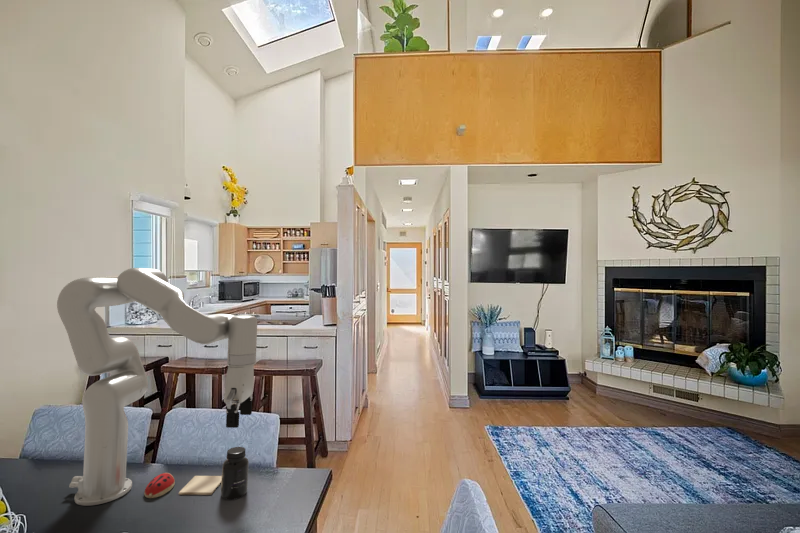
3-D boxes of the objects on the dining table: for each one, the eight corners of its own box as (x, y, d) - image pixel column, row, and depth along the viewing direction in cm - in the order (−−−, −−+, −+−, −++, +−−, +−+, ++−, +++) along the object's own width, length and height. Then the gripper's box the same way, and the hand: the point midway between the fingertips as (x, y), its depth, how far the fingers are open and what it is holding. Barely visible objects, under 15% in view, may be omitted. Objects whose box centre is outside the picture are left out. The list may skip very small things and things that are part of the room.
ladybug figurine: (179, 481, 113) (180, 468, 114) (164, 500, 104) (164, 486, 104) (155, 482, 112) (155, 470, 113) (137, 501, 103) (138, 488, 103)
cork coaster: (178, 494, 106) (178, 492, 106) (194, 477, 115) (195, 475, 115) (211, 494, 106) (211, 492, 106) (225, 477, 115) (225, 475, 115)
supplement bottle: (237, 502, 103) (239, 456, 103) (215, 498, 104) (217, 454, 105) (252, 488, 110) (254, 446, 110) (231, 485, 111) (232, 443, 111)
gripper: (240, 353, 117) (237, 410, 116) (214, 365, 100) (211, 432, 99) (264, 353, 117) (262, 410, 116) (243, 366, 100) (241, 433, 99)
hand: (239, 420), depth 108 cm, fingers open, 9 cm apart
